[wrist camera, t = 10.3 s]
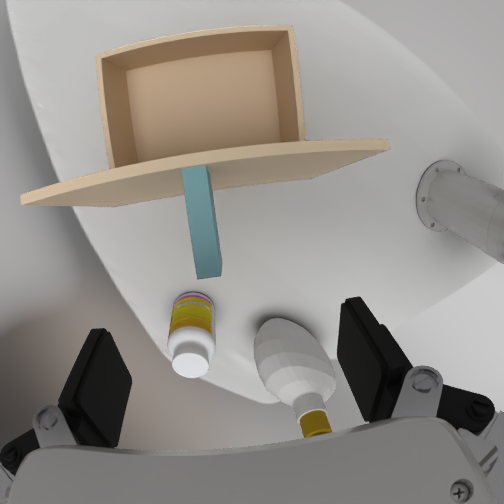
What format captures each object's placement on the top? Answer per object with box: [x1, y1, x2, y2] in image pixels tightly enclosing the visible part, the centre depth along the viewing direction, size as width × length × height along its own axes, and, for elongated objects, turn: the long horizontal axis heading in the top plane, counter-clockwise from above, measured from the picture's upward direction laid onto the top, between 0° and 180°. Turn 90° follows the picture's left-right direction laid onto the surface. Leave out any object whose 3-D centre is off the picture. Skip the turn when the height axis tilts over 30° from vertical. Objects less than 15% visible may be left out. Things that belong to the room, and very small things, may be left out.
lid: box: [20, 139, 390, 279], centre depth 22 cm, size 21×16×6 cm
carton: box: [96, 25, 305, 169], centre depth 31 cm, size 20×16×10 cm
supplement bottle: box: [167, 293, 216, 378], centre depth 41 cm, size 7×7×13 cm
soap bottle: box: [254, 318, 336, 438], centre depth 40 cm, size 14×9×26 cm, turn 55°
